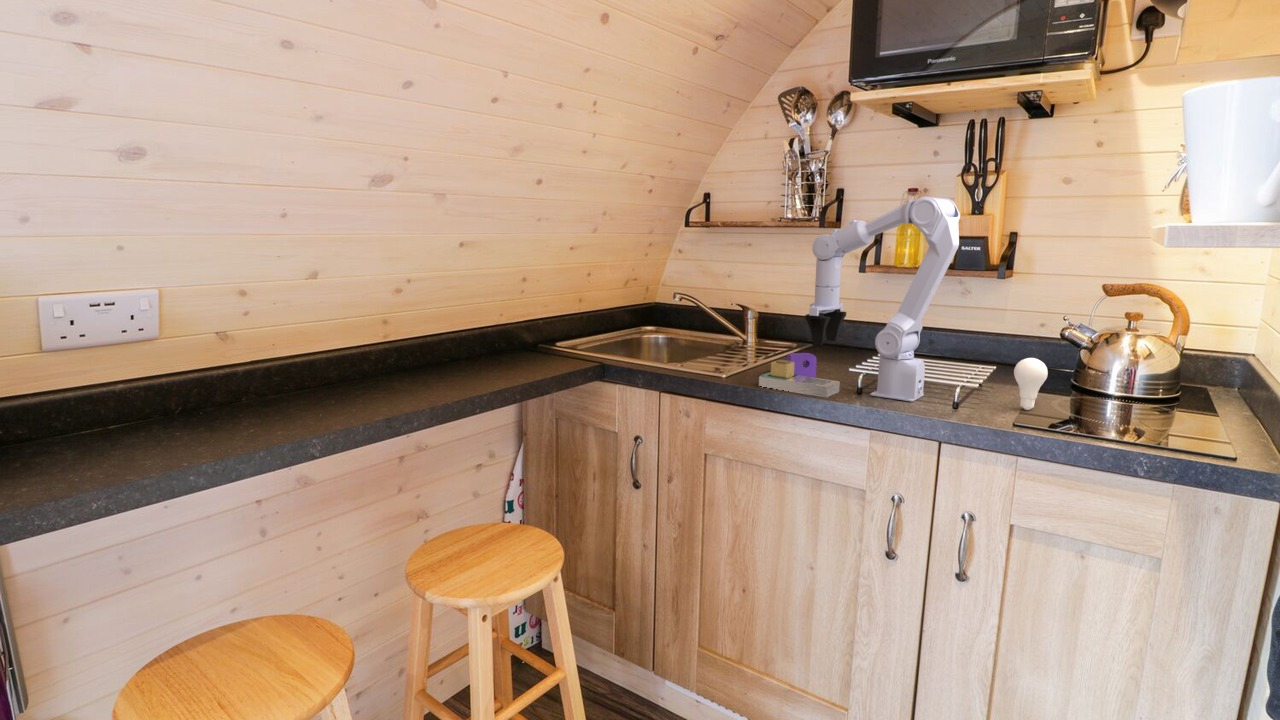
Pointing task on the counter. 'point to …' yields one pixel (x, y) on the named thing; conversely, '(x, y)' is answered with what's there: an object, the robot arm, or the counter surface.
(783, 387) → the white compartment tray
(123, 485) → the counter surface
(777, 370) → the beige hollow block
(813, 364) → the bracket
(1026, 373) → the lightbulb
